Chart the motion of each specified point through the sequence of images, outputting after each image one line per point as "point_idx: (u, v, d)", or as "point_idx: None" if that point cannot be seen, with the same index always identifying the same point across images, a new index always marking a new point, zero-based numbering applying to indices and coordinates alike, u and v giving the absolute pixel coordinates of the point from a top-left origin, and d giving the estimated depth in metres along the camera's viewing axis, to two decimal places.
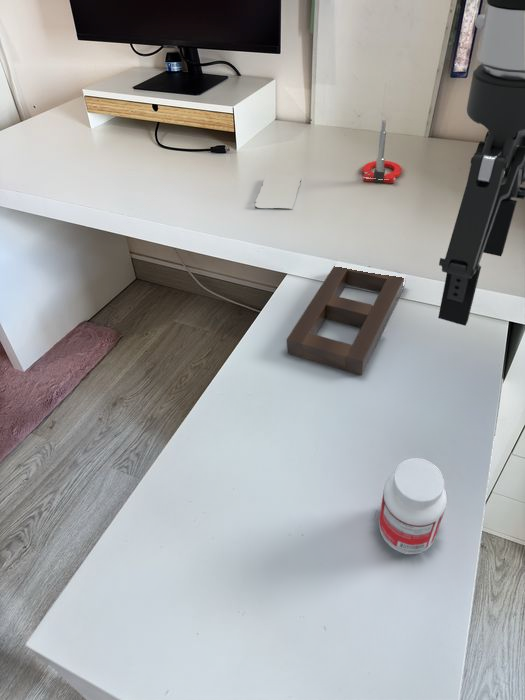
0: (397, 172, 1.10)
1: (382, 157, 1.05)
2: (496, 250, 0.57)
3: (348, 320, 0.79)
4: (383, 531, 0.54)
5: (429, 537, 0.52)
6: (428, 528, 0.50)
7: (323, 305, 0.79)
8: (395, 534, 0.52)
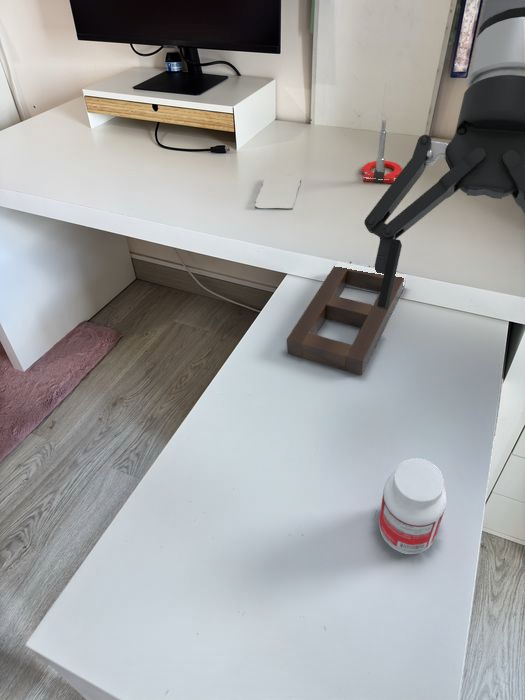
0: (397, 172, 1.10)
1: (382, 157, 1.05)
2: None
3: (348, 320, 0.79)
4: (383, 531, 0.54)
5: (429, 537, 0.52)
6: (428, 528, 0.50)
7: (323, 305, 0.79)
8: (395, 534, 0.52)
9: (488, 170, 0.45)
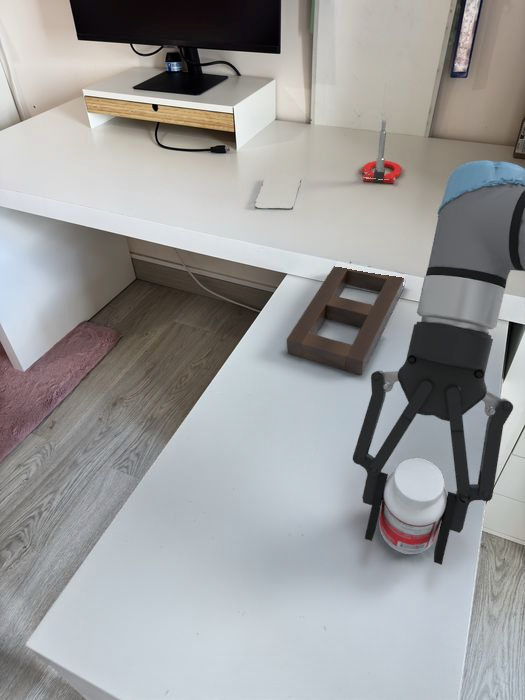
0: (397, 172, 1.10)
1: (382, 157, 1.05)
2: (435, 553, 0.50)
3: (348, 320, 0.79)
4: (383, 531, 0.54)
5: (429, 537, 0.52)
6: (428, 528, 0.50)
7: (323, 305, 0.79)
8: (395, 534, 0.52)
9: (435, 399, 0.50)
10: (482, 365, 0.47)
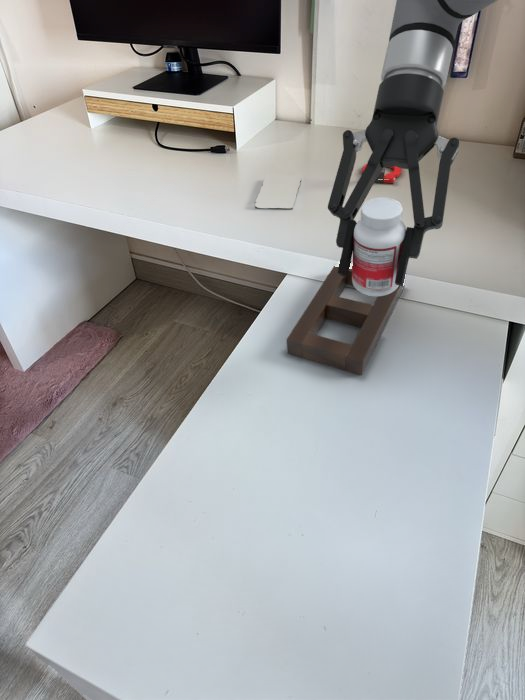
0: (397, 172, 1.10)
1: None
2: None
3: (348, 320, 0.79)
4: (355, 278, 0.64)
5: (392, 271, 0.61)
6: (390, 255, 0.59)
7: (323, 305, 0.79)
8: (364, 271, 0.62)
9: (395, 146, 0.59)
10: (433, 108, 0.57)
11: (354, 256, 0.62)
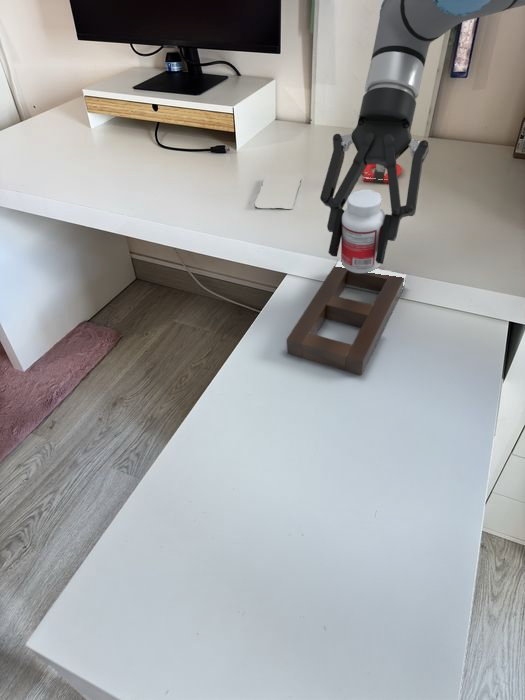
0: (397, 172, 1.10)
1: None
2: None
3: (348, 320, 0.79)
4: (343, 257, 0.76)
5: (374, 251, 0.73)
6: (372, 237, 0.71)
7: (323, 305, 0.79)
8: (350, 251, 0.74)
9: (376, 147, 0.71)
10: (407, 116, 0.69)
11: (342, 239, 0.74)
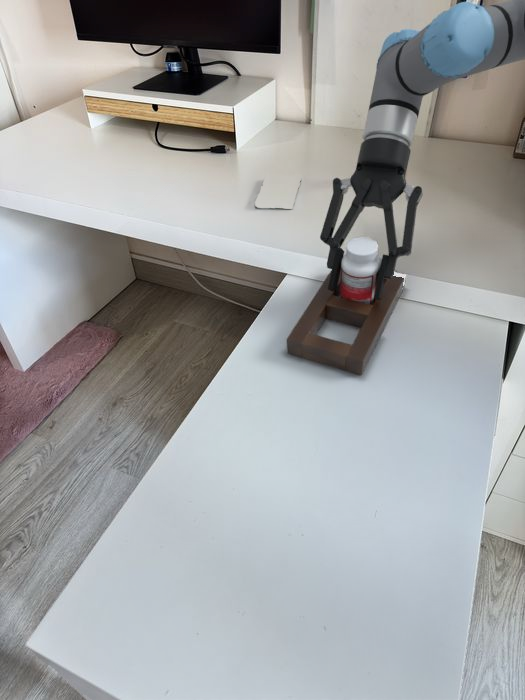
0: None
1: None
2: (375, 293, 0.76)
3: (348, 320, 0.79)
4: (342, 297, 0.82)
5: (371, 293, 0.79)
6: (369, 281, 0.77)
7: (323, 305, 0.79)
8: (349, 293, 0.79)
9: (373, 191, 0.76)
10: (402, 164, 0.74)
11: (341, 281, 0.80)
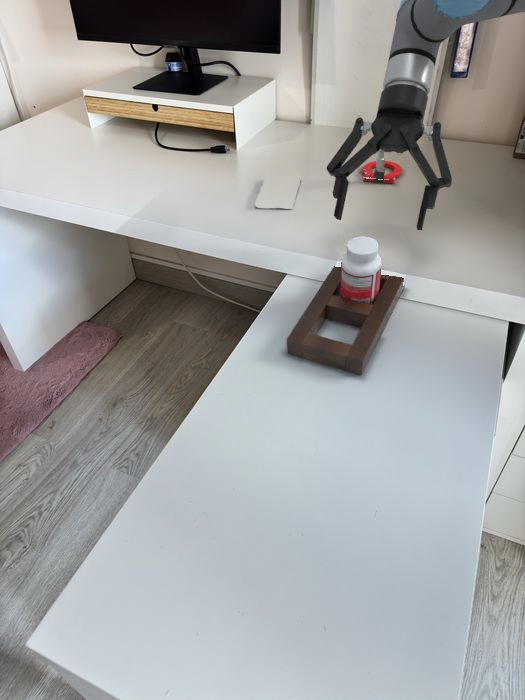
0: (397, 172, 1.10)
1: (382, 157, 1.05)
2: None
3: (348, 320, 0.79)
4: (342, 297, 0.82)
5: (371, 293, 0.79)
6: (369, 281, 0.77)
7: (323, 305, 0.79)
8: (349, 292, 0.79)
9: (393, 136, 0.81)
10: (420, 109, 0.79)
11: (341, 280, 0.80)
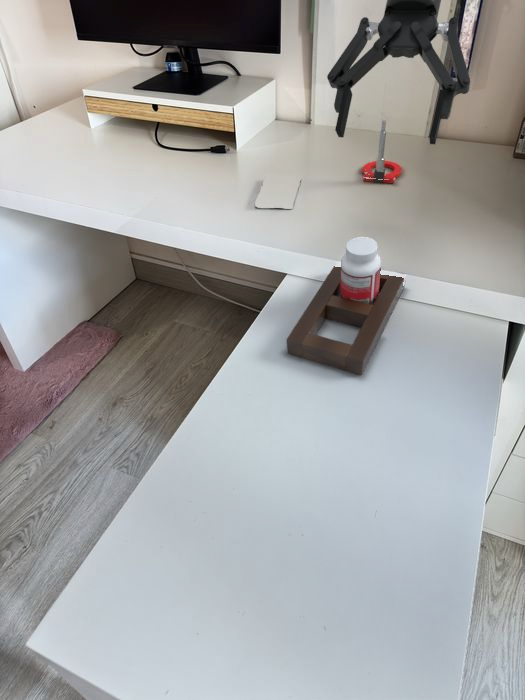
0: (397, 172, 1.10)
1: (382, 157, 1.05)
2: None
3: (348, 320, 0.79)
4: (342, 297, 0.82)
5: (370, 293, 0.79)
6: (368, 281, 0.77)
7: (323, 305, 0.79)
8: (348, 292, 0.79)
9: (403, 36, 0.72)
10: (434, 2, 0.70)
11: (341, 280, 0.80)
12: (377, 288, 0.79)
